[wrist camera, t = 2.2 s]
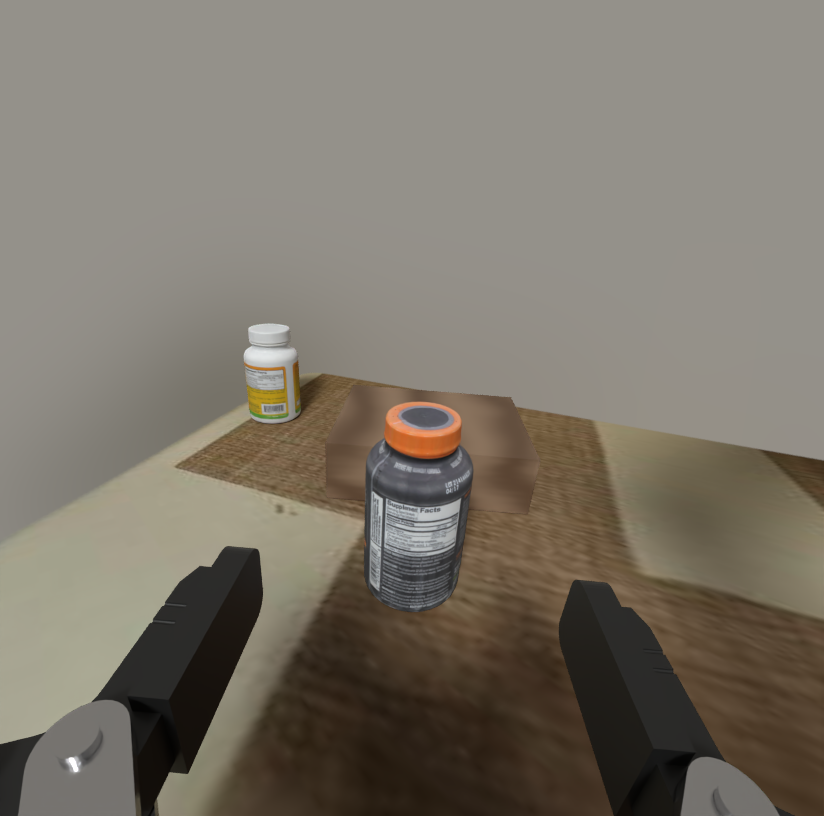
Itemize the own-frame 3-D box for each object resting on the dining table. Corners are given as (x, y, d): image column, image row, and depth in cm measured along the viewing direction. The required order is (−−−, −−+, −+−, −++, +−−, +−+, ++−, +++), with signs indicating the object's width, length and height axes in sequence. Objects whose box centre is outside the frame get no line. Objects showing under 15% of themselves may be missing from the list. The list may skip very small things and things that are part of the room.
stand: (502, 440, 43) (510, 397, 41) (527, 514, 32) (540, 460, 30) (353, 428, 43) (353, 384, 41) (326, 497, 32) (325, 442, 30)
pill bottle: (397, 529, 29) (407, 384, 24) (472, 566, 26) (499, 411, 22) (343, 583, 24) (343, 417, 20) (427, 635, 22) (450, 456, 17)
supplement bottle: (279, 400, 48) (273, 319, 44) (311, 413, 46) (307, 328, 42) (239, 414, 44) (228, 327, 40) (271, 430, 41) (264, 337, 37)
